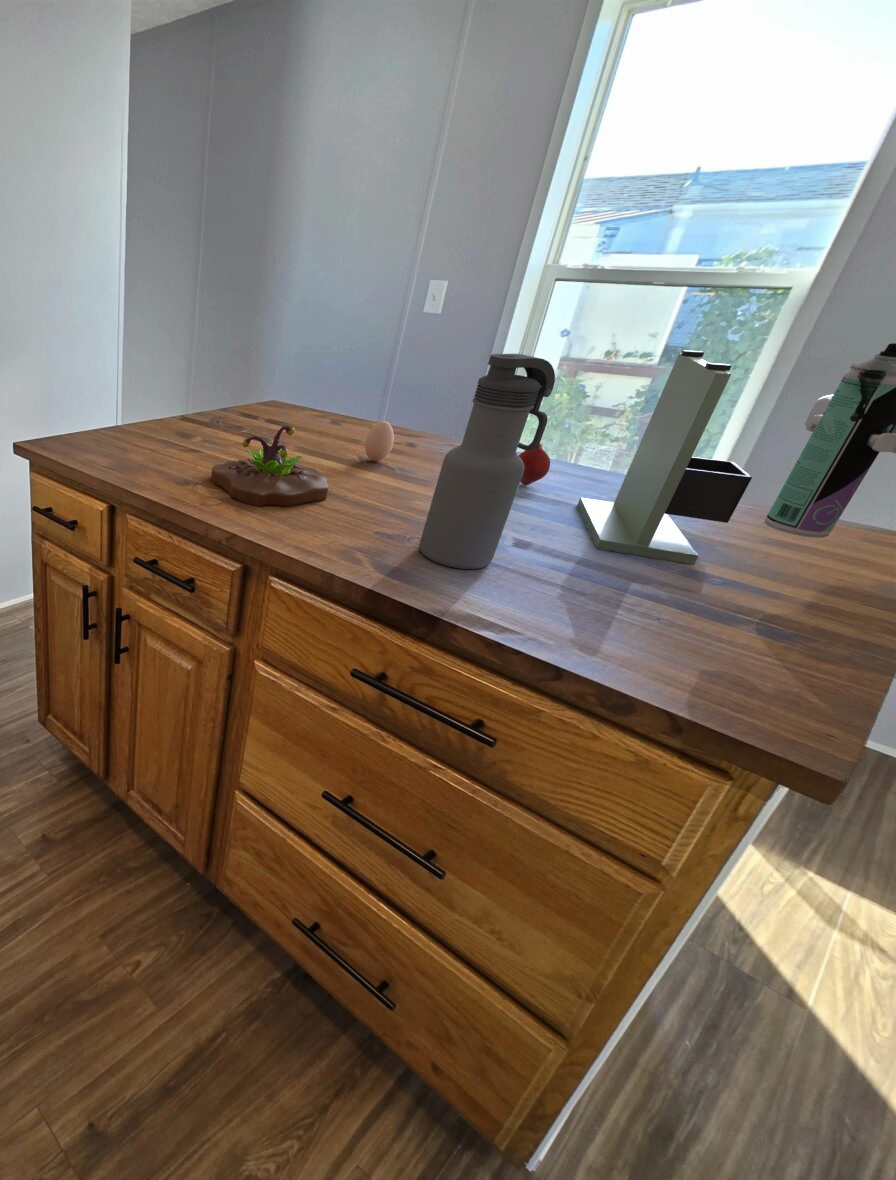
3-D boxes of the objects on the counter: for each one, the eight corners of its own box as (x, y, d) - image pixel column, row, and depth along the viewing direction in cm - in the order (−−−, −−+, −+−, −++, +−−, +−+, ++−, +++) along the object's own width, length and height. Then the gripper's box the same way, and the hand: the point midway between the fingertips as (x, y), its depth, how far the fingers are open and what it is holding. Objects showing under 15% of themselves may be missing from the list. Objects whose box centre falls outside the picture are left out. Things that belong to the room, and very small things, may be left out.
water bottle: (462, 539, 101) (523, 348, 87) (509, 568, 93) (585, 362, 79) (403, 544, 99) (457, 350, 85) (446, 574, 91) (513, 363, 77)
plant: (347, 502, 115) (361, 439, 109) (245, 510, 110) (254, 445, 105) (291, 466, 131) (300, 410, 126) (200, 472, 127) (206, 414, 122)
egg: (389, 459, 137) (398, 419, 133) (387, 466, 132) (397, 425, 128) (362, 455, 139) (371, 416, 134) (360, 462, 134) (369, 422, 130)
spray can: (830, 542, 72) (948, 348, 62) (763, 528, 75) (866, 342, 65) (827, 527, 75) (939, 342, 65) (763, 515, 78) (861, 337, 68)
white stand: (685, 521, 109) (769, 353, 96) (724, 570, 93) (831, 376, 80) (577, 505, 115) (642, 344, 102) (596, 548, 99) (676, 364, 86)
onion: (503, 478, 127) (516, 437, 123) (535, 481, 126) (550, 440, 122) (513, 488, 122) (527, 446, 118) (547, 491, 121) (562, 448, 117)
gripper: (1081, 498, 61) (924, 494, 62) (870, 438, 79) (750, 435, 80) (1134, 431, 58) (968, 427, 59) (902, 384, 76) (777, 382, 77)
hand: (841, 432), depth 70 cm, fingers closed on spray can, 5 cm apart
